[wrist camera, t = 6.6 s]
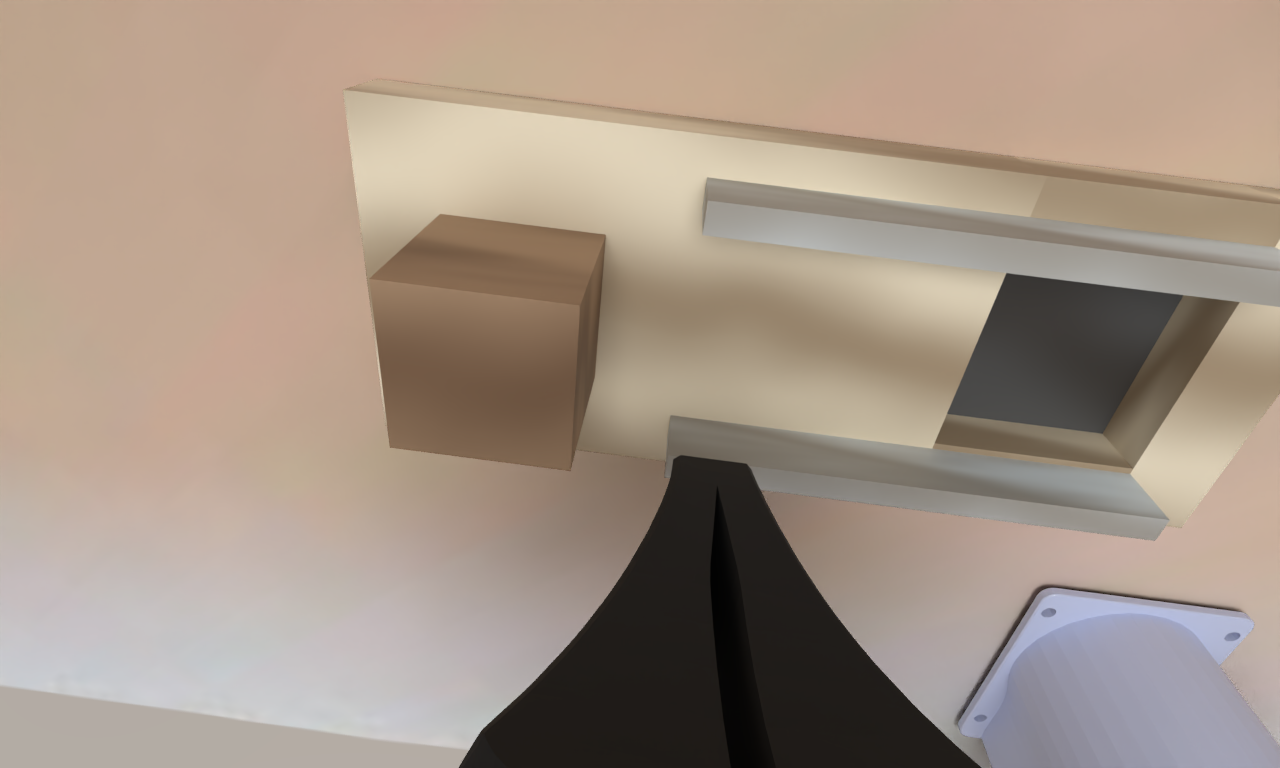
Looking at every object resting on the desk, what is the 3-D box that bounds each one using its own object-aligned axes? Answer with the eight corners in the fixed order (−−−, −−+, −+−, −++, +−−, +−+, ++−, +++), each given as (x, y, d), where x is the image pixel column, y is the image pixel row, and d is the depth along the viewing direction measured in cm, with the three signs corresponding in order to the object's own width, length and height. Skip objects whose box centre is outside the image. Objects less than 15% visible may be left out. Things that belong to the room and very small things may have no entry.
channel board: (1145, 486, 23) (1223, 576, 19) (408, 392, 23) (358, 464, 20) (1337, 196, 17) (1492, 249, 14) (377, 78, 18) (300, 103, 14)
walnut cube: (594, 377, 20) (570, 470, 16) (448, 358, 20) (389, 447, 16) (606, 234, 17) (580, 305, 14) (440, 213, 17) (368, 278, 14)
